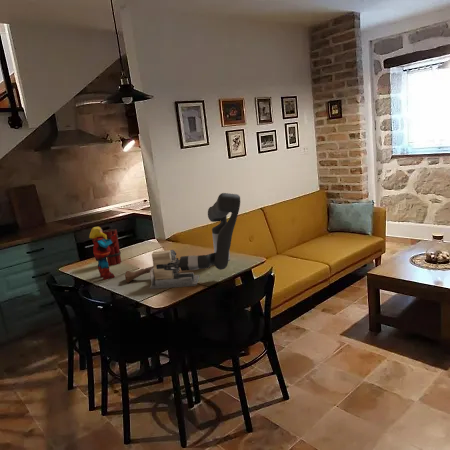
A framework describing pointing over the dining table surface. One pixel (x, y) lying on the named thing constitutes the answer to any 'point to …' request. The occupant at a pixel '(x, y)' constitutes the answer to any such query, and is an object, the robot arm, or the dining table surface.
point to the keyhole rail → (174, 280)
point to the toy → (102, 250)
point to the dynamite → (113, 248)
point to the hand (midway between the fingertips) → (157, 265)
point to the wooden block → (162, 258)
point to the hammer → (147, 270)
